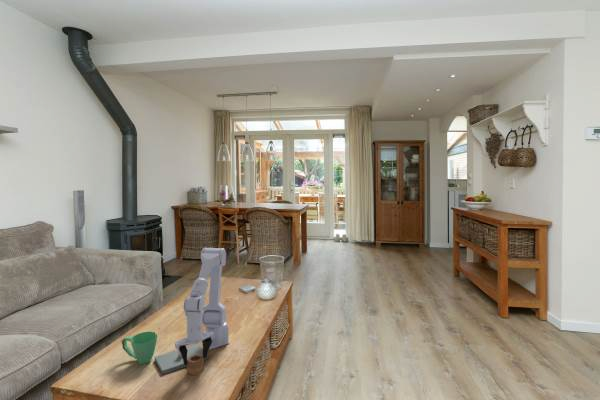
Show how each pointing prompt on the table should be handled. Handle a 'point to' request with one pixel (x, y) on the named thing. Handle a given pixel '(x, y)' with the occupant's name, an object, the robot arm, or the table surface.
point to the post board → (176, 359)
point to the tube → (195, 364)
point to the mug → (141, 346)
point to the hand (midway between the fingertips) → (195, 360)
